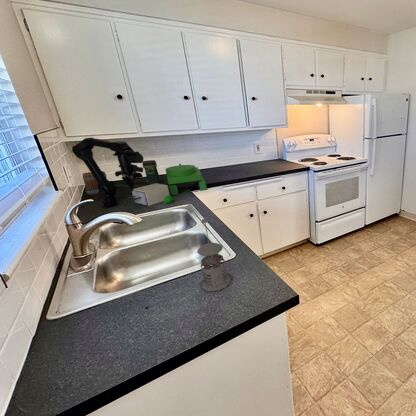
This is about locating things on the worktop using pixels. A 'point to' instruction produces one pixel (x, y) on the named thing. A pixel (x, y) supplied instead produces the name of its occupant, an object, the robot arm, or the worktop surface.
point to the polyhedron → (168, 199)
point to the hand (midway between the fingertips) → (132, 188)
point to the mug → (91, 183)
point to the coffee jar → (151, 171)
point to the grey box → (154, 193)
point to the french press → (214, 276)
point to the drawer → (139, 197)
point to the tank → (184, 177)
